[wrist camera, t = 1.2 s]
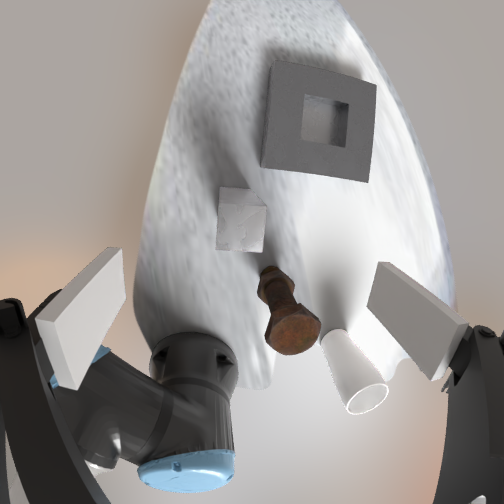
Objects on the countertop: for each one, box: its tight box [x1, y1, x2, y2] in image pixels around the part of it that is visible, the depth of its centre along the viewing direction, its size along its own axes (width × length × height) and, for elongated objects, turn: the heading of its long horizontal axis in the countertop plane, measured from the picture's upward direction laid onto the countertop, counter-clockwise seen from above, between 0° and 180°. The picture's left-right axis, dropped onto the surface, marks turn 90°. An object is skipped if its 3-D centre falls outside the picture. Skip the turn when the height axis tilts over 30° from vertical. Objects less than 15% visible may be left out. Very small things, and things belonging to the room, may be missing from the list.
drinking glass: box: [321, 329, 389, 414], centre depth 39 cm, size 7×7×15 cm
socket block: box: [260, 60, 377, 183], centre depth 32 cm, size 14×14×4 cm
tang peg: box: [216, 187, 267, 253], centre depth 30 cm, size 4×4×14 cm
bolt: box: [257, 266, 321, 355], centre depth 33 cm, size 6×5×15 cm
